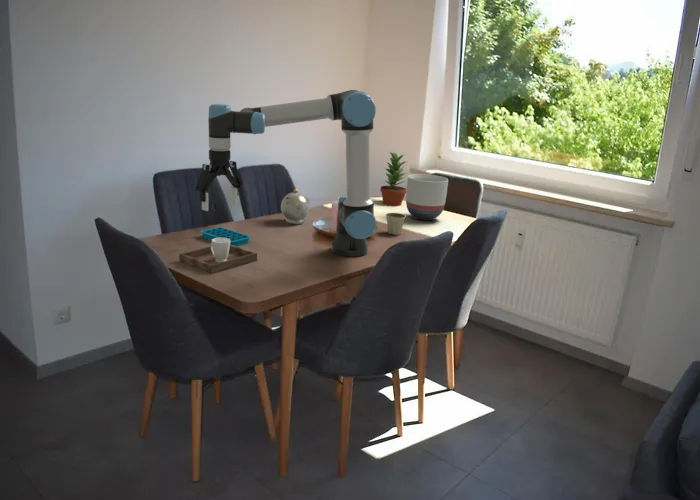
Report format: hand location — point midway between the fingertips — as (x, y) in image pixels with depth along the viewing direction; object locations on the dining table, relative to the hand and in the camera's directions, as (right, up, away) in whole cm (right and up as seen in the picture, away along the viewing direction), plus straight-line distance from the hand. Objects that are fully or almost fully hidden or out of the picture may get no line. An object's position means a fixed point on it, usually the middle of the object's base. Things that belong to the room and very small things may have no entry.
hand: (219, 207), depth 218 cm
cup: (-2, -19, +6) cm, 20 cm away
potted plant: (+72, +10, +118) cm, 139 cm away
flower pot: (+68, -8, +59) cm, 91 cm away
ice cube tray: (-5, -12, +32) cm, 34 cm away
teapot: (+22, -2, +67) cm, 71 cm away
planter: (+86, 0, +89) cm, 123 cm away
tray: (-2, -20, +6) cm, 21 cm away
